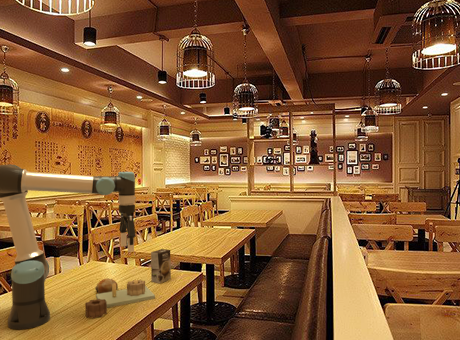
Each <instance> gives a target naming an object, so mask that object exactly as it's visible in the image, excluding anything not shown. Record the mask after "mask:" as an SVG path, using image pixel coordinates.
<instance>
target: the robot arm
mask: <svg viewBox="0 0 460 340" xmlns="http://www.w3.org/2000/svg"><path fill="white" fill-rule="evenodd" d="M29 191H35V192H54V193H71V194H72V193H73V194H92V195H101V196H102V195H103V196H109V195H111V194H112V193H118V194H117V195H118V204H119V205H118V213H119V214H120V221H119V223H120V224H119V229H118V230H119V232H120V247H127V253H132V252H135V238H136V236H137V235H136V229H135V221H134V215H132V213H135V212H136V204H135V203H136V199H137V197H136V175H135V172H133V171H119V172H118V175H115V176H114V175H110V176H109V175H107V176H105V175H97V176H94V175H78V174H67V173H66V174H64V173H52V172H51V173H50V172H39V171H38V172H36V171H28V170H27V169H26V168H21V167H20V166H18V165H15V164H0V201H1V202H2V203H3V207H4V209H5V210H4V211H5V215H6V219H7V222H8V227H9V230H10V233H11V237H12V242H13V245H14V248H15V252H16V256H15V258H14V266H13V267H12V268H11V272H10V273H11V274H10V278H11V299H12V300H11V301H12V304H11V305H12V306H11V309H10V311H9V315H8V318H7V327H8V328H9V329H12V330H27V329H31V328H32V329H33V328H37V327H39V326H41V325H44V324H46V323H47V322H48V321H50V319H51V311H50V309H49V307H48V305H47V302H46V298H45V297H46V296H45V295H46V294H45V293H46V291H45V290H46V289H45V282H46V280H47V277H48V276H49V274H50V264H49V262H48V260H47V259H46V256H45V252H44V251H43V250H41V249H40V248H39V244H38V240H37V237H36V232H35V229H34V225H33V222H32V217H31V214H30V210H29V206H28V203H27V198H26V196H27V195H28V193H29Z"/></svg>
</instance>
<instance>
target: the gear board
mask: <svg viewBox="0 0 460 340" xmlns="http://www.w3.org/2000/svg"><path fill="white" fill-rule="evenodd" d="M133 280H134V284H138V280H139V279H133ZM116 283H117V282H116ZM116 283H114V284H112V292H106V293H101V294H100V293H96V294H95V298H96V300H97V299H101V300H103V299H105V300H106V301H107V309H108V308H113V307H118V306H123V305H128V304H133V303H139V302H144V301H149V300H155V299H156V295H155V294H154V292H152V291H151V289H149V287H148V286H146V285H145V293H144V294H141V295H139V296H137V295H134V296H130V295H127V288H125V289H119V290H118V289H117V290H116Z"/></svg>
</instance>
